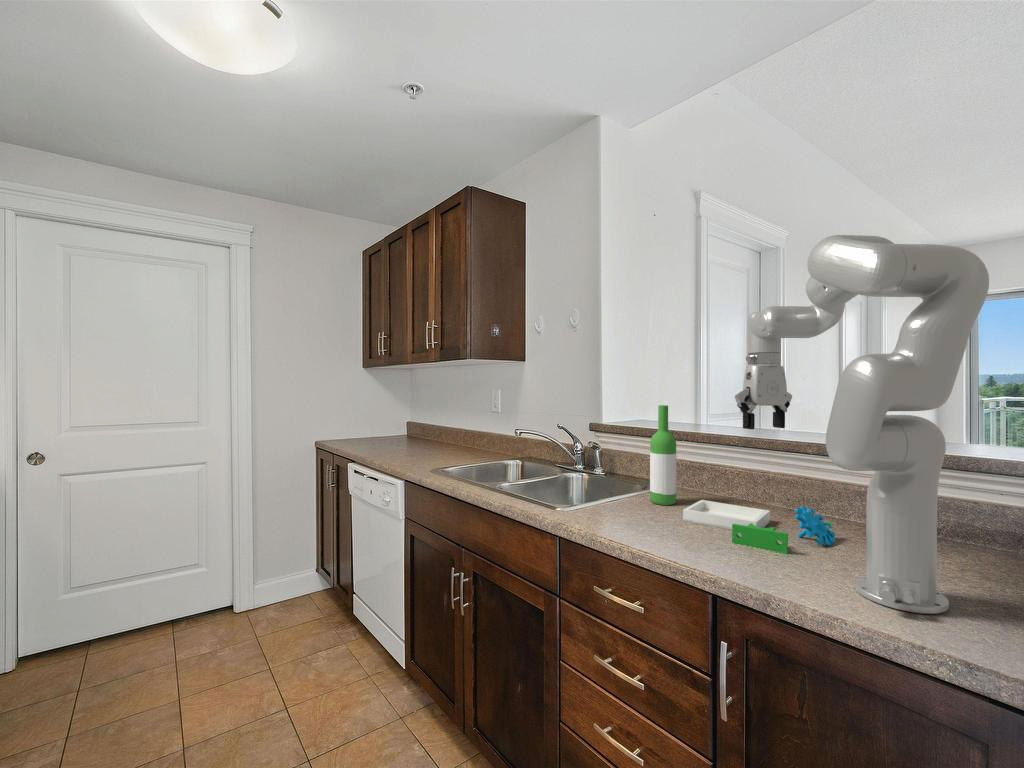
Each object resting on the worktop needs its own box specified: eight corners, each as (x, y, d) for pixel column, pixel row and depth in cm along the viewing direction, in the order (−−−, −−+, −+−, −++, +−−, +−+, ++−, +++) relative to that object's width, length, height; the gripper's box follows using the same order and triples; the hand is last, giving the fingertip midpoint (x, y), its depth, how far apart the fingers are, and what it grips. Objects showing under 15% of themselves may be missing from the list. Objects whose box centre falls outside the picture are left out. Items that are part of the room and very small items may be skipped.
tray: (756, 534, 118) (756, 522, 118) (683, 520, 129) (683, 509, 129) (770, 521, 128) (770, 510, 128) (701, 510, 140) (701, 499, 140)
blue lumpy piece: (817, 543, 107) (791, 503, 113) (797, 555, 110) (773, 516, 117) (849, 543, 111) (822, 505, 118) (829, 555, 115) (804, 518, 121)
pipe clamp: (789, 550, 107) (790, 530, 107) (786, 555, 105) (787, 534, 104) (736, 539, 114) (736, 520, 114) (731, 543, 112) (732, 524, 111)
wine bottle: (655, 498, 154) (655, 404, 154) (679, 501, 149) (679, 405, 149) (646, 503, 148) (646, 405, 147) (671, 507, 143) (671, 406, 143)
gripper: (748, 359, 116) (748, 430, 116) (803, 360, 121) (803, 428, 121) (725, 360, 123) (725, 428, 123) (778, 361, 128) (778, 425, 128)
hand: (763, 428), depth 122 cm, fingers open, 9 cm apart
